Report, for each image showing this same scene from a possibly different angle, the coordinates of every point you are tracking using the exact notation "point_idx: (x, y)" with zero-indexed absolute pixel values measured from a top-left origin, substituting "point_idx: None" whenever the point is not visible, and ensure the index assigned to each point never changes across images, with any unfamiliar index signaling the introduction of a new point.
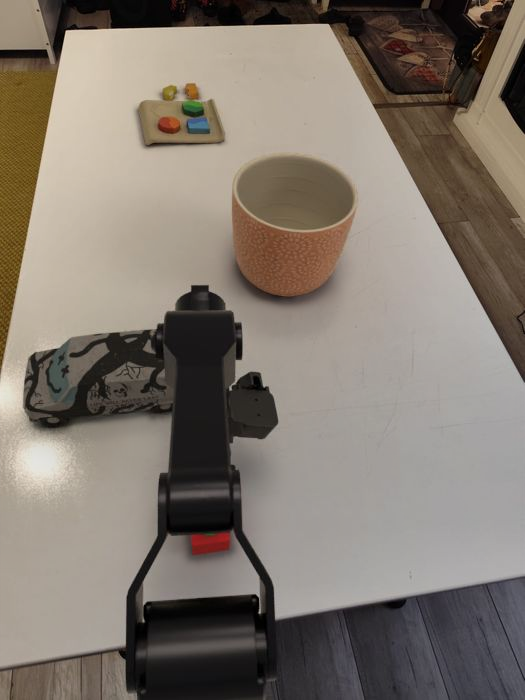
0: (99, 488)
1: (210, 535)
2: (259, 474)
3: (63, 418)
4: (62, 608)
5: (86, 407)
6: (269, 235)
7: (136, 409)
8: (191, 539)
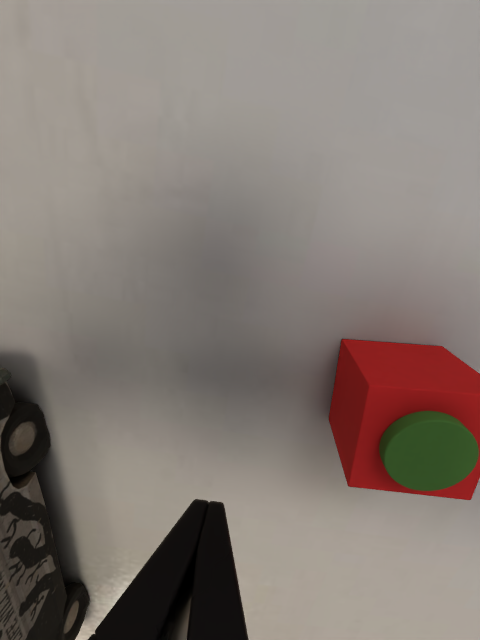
0: None
1: (475, 459)
2: (243, 213)
3: (66, 614)
4: (424, 623)
5: (27, 637)
6: None
7: (32, 515)
8: (450, 497)
